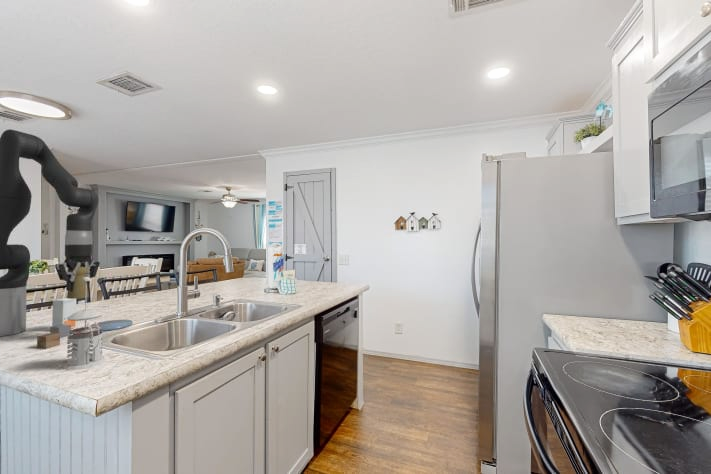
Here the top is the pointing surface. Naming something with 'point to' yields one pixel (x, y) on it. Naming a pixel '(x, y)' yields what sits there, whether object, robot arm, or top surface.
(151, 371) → the top surface
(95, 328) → the french press
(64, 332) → the graphite block
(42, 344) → the walnut block
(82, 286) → the cork
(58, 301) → the skincare box
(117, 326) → the slate plate
